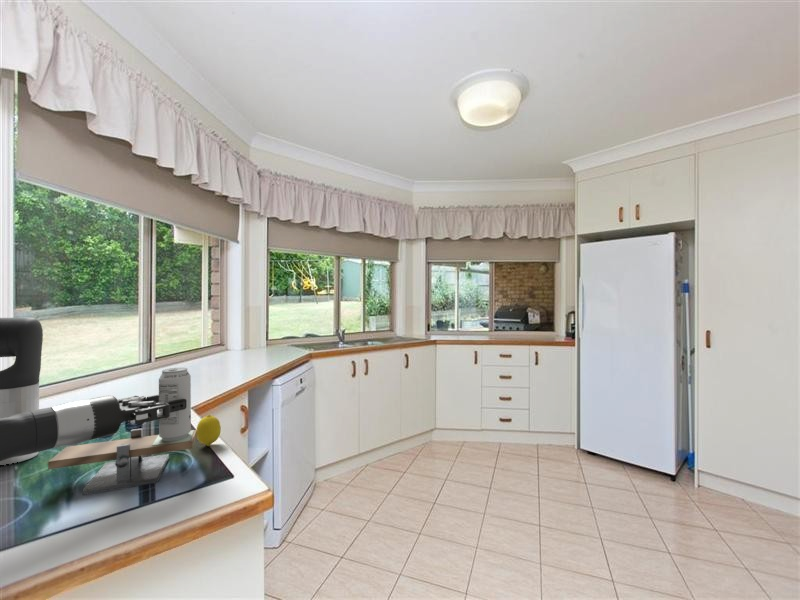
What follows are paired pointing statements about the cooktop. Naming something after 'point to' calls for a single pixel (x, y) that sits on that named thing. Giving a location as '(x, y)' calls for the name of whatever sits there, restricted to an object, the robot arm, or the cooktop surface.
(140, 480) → the beam stand
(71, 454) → the beam
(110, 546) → the cooktop surface
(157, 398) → the robot arm
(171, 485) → the cooktop surface
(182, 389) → the energy drink can
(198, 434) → the lemon
